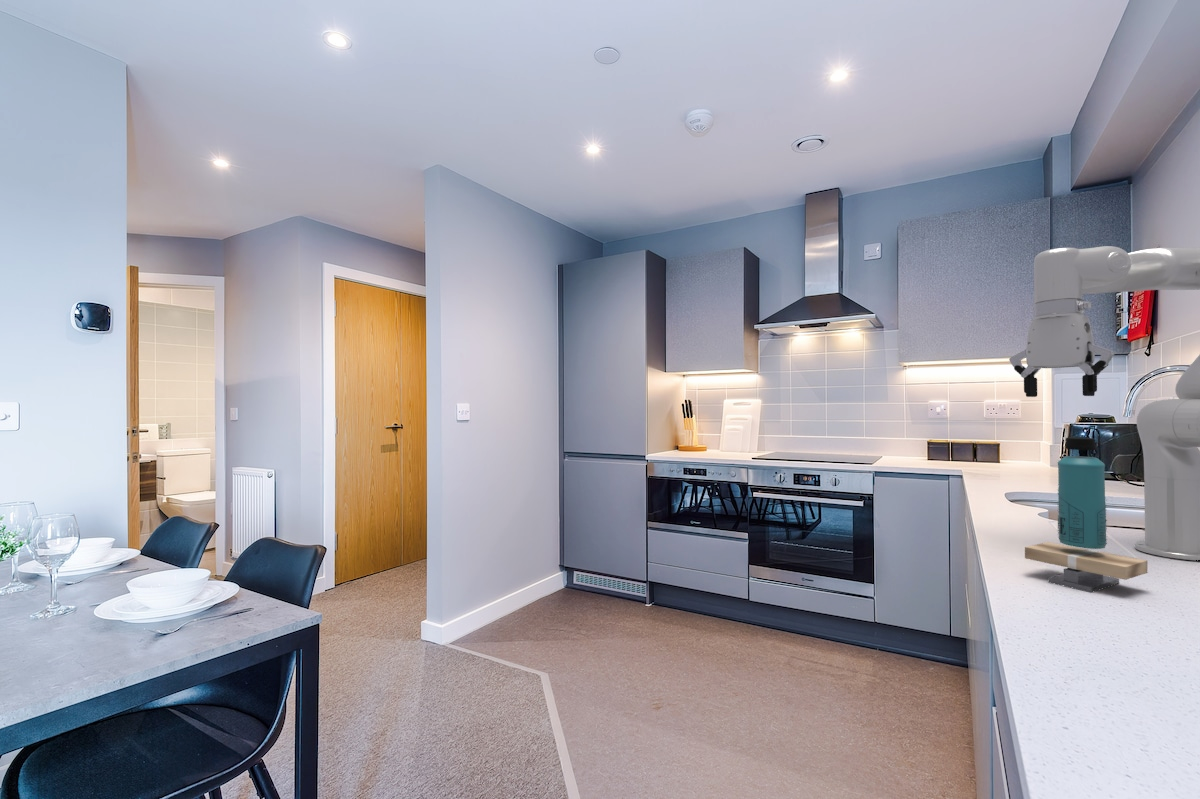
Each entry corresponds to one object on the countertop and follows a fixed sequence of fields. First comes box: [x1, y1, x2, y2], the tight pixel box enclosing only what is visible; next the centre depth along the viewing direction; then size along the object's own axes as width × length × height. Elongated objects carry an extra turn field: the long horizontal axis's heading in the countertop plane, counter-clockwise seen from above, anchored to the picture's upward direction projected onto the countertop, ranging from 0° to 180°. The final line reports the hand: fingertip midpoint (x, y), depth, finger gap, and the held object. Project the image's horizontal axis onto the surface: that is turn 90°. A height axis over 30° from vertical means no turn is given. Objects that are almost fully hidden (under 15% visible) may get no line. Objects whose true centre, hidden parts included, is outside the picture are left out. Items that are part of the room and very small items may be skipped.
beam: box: [1024, 541, 1148, 581], centre depth 97 cm, size 8×14×2 cm, turn 28°
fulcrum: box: [1048, 567, 1120, 593], centre depth 97 cm, size 10×6×3 cm, turn 118°
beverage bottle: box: [1056, 436, 1108, 550], centre depth 98 cm, size 6×7×20 cm
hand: (1059, 396), depth 114 cm, fingers open, 9 cm apart
